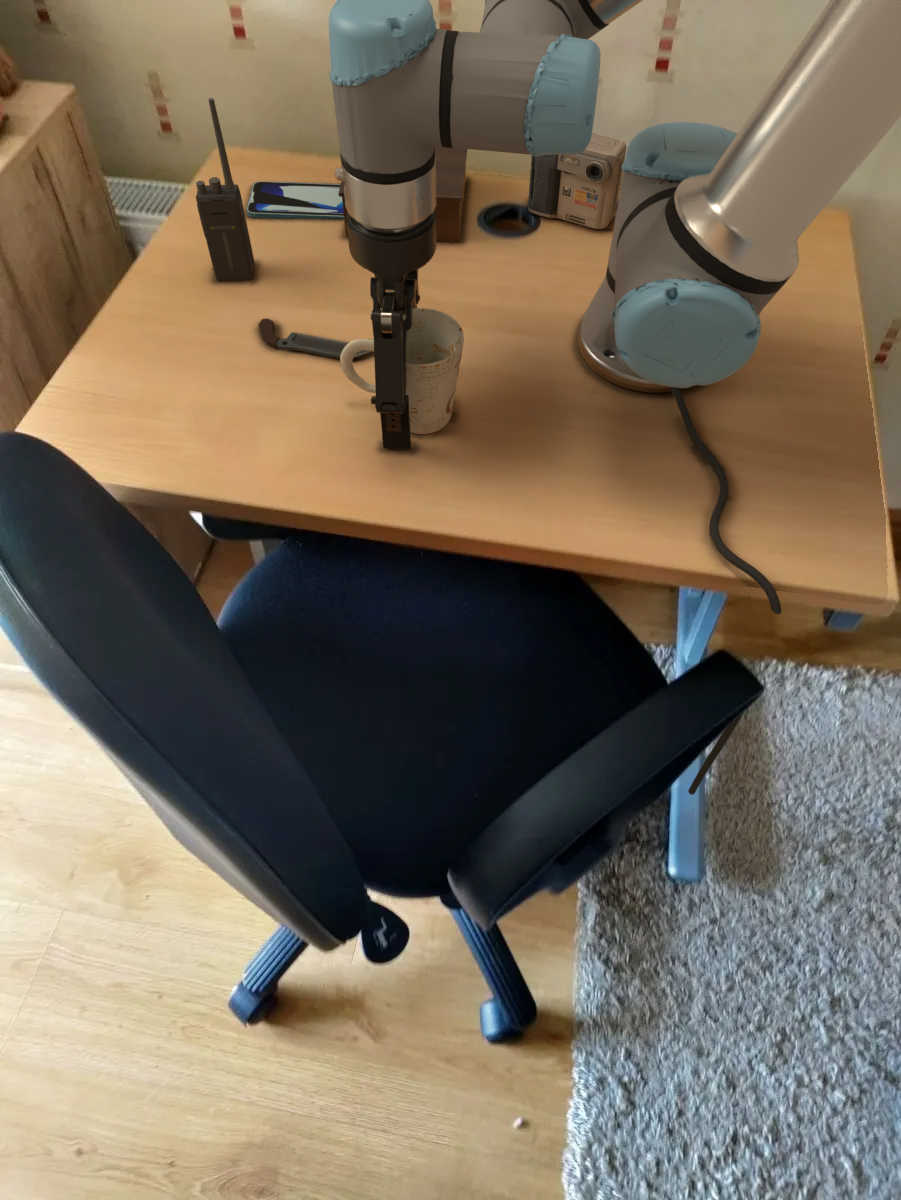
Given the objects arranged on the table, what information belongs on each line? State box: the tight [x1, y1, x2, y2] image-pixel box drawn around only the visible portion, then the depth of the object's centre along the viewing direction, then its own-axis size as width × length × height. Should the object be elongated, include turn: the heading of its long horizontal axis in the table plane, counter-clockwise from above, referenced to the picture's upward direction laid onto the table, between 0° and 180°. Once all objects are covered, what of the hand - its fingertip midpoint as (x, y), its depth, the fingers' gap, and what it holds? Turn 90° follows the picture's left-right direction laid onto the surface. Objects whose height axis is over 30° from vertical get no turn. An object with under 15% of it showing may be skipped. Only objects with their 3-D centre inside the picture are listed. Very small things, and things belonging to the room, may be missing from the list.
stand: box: [339, 147, 468, 243], centre depth 110 cm, size 15×15×6 cm
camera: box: [527, 131, 627, 230], centre depth 108 cm, size 11×6×10 cm, turn 61°
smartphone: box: [246, 180, 344, 221], centre depth 113 cm, size 7×1×15 cm
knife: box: [258, 318, 373, 359], centre depth 97 cm, size 14×4×1 cm, turn 74°
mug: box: [339, 307, 465, 435], centre depth 88 cm, size 8×13×10 cm, turn 78°
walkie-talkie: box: [195, 97, 255, 282], centre depth 97 cm, size 5×3×20 cm
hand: (402, 409), depth 92 cm, fingers open, 10 cm apart
